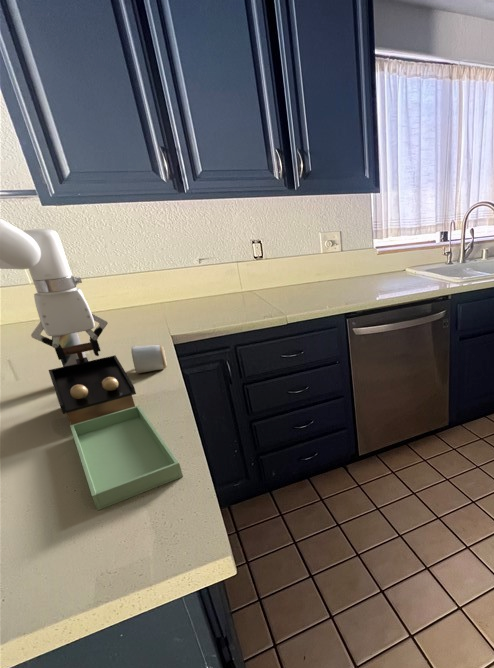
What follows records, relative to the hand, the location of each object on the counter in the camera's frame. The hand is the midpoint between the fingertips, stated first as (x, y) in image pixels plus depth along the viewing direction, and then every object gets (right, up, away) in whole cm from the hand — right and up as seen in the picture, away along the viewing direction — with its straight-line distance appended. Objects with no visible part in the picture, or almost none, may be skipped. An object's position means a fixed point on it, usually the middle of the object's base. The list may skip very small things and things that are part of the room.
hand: (80, 357), depth 106 cm
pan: (+6, -6, -5) cm, 10 cm away
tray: (+25, -20, -23) cm, 40 cm away
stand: (+6, -12, -2) cm, 14 cm away
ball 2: (+13, -7, -9) cm, 18 cm away
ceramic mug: (+7, -2, +20) cm, 21 cm away
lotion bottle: (-10, -6, +14) cm, 18 cm away
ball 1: (+9, -8, -13) cm, 18 cm away
